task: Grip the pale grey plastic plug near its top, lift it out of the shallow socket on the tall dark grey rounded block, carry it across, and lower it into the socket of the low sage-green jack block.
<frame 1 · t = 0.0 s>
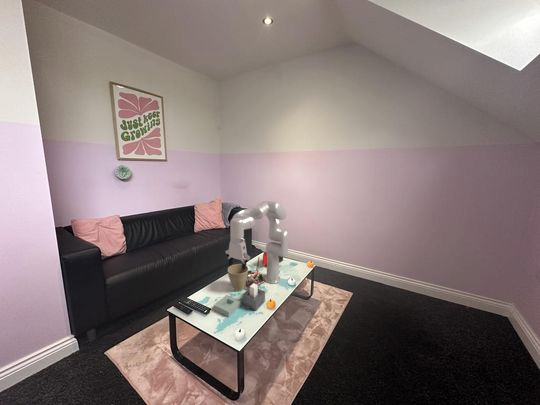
hand: (237, 267, 122), 31 cm above the table, fingers open, 9 cm apart
plant pot: (238, 288, 153), on the table
dark grey rounded block: (253, 303, 137), on the table
plug: (253, 295, 136), point 6 cm above the table, touching dark grey rounded block
game console: (273, 263, 193), on the table
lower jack: (227, 307, 132), on the table
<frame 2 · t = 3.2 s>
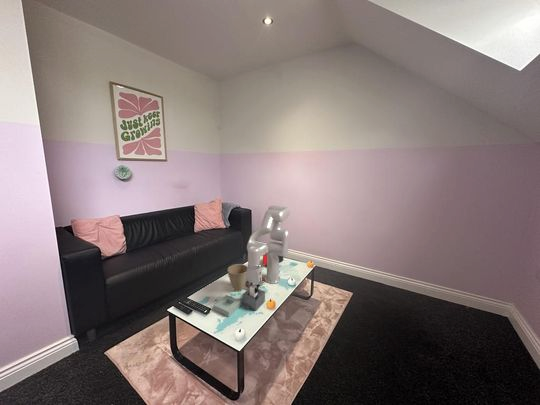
hand: (253, 291, 136), 9 cm above the table, fingers closed on plug, 3 cm apart
plug: (253, 295, 136), point 6 cm above the table, touching gripper, dark grey rounded block
everything else where it was.
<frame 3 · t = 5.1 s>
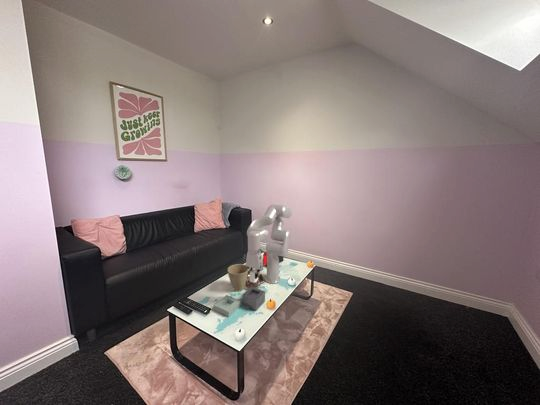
hand: (254, 276, 134), 19 cm above the table, fingers closed on plug, 3 cm apart
plug: (254, 280, 135), point 16 cm above the table, touching gripper
everything else where it was.
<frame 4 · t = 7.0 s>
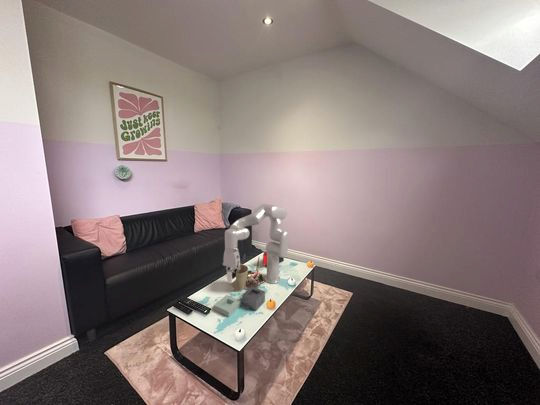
hand: (231, 276, 129), 22 cm above the table, fingers closed on plug, 3 cm apart
plug: (231, 280, 130), point 19 cm above the table, touching gripper
everything else where it was.
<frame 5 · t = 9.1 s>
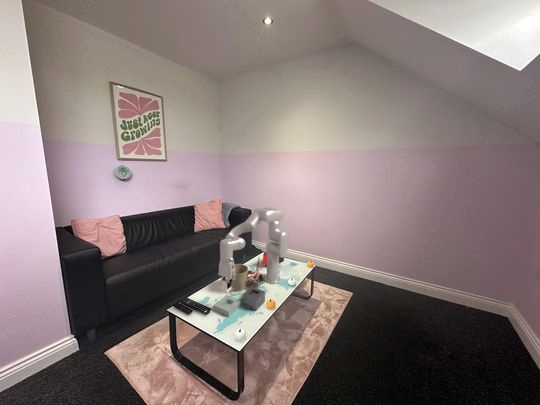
hand: (226, 286, 129), 15 cm above the table, fingers closed on plug, 3 cm apart
plug: (226, 290, 130), point 13 cm above the table, touching gripper
everything else where it was.
when the fingers open (5 cm above the table, at t = 11.1 s): plug stays where it is, resting on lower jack.
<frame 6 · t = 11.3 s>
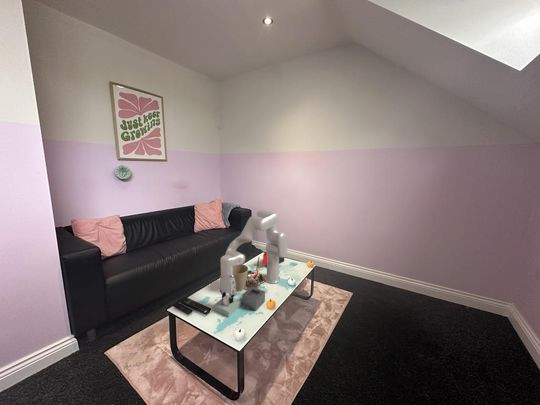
hand: (227, 300, 132), 5 cm above the table, fingers open, 5 cm apart
plug: (227, 306, 132), point 1 cm above the table, touching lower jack
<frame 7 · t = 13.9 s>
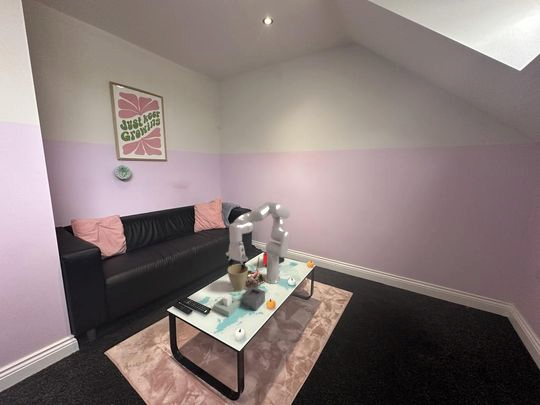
hand: (237, 267, 133), 25 cm above the table, fingers open, 9 cm apart
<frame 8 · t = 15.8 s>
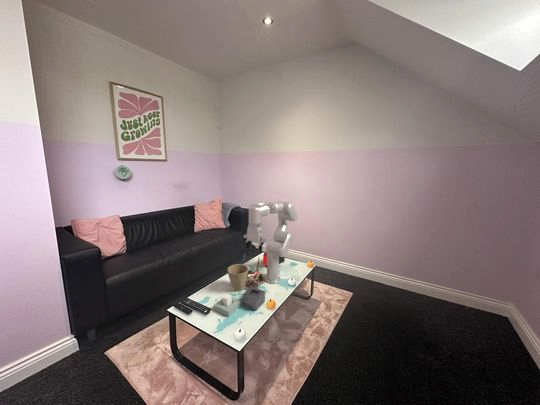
hand: (254, 249, 140), 34 cm above the table, fingers open, 9 cm apart
at the end: plug 0.1 cm off-centre on the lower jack, point 1.0 cm above the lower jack's base; plug tilted 0°; the gripper is holding nothing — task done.
